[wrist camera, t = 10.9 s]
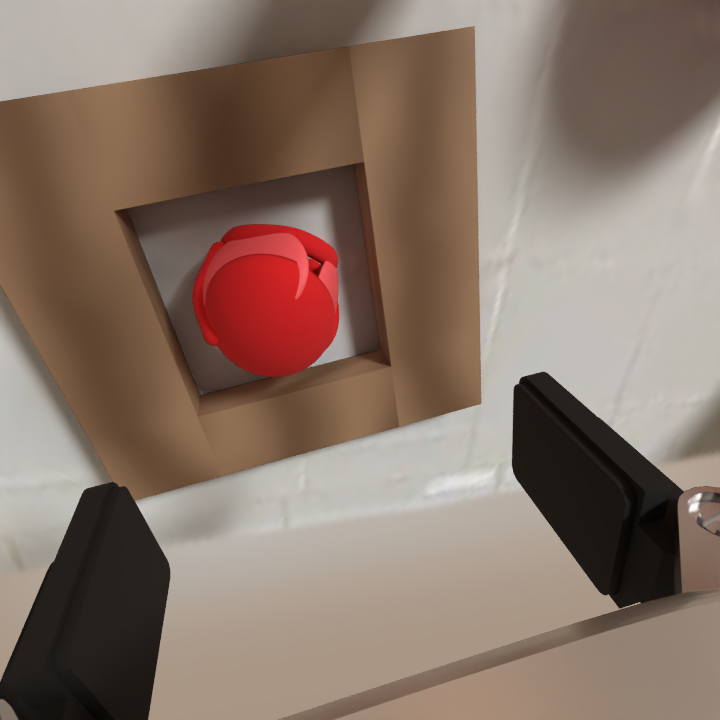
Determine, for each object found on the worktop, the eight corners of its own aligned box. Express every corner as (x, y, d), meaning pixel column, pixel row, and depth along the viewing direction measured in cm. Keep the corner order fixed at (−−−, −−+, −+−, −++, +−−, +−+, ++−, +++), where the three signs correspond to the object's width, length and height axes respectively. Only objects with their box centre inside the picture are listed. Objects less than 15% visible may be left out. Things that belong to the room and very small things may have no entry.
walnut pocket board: (453, 33, 20) (474, 26, 18) (466, 386, 29) (481, 403, 27) (-64, 115, 17) (-96, 116, 15) (132, 477, 26) (125, 503, 24)
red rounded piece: (184, 188, 17) (147, 348, 16) (345, 214, 17) (315, 377, 16) (239, 261, 25) (216, 371, 24) (349, 279, 25) (330, 390, 24)
